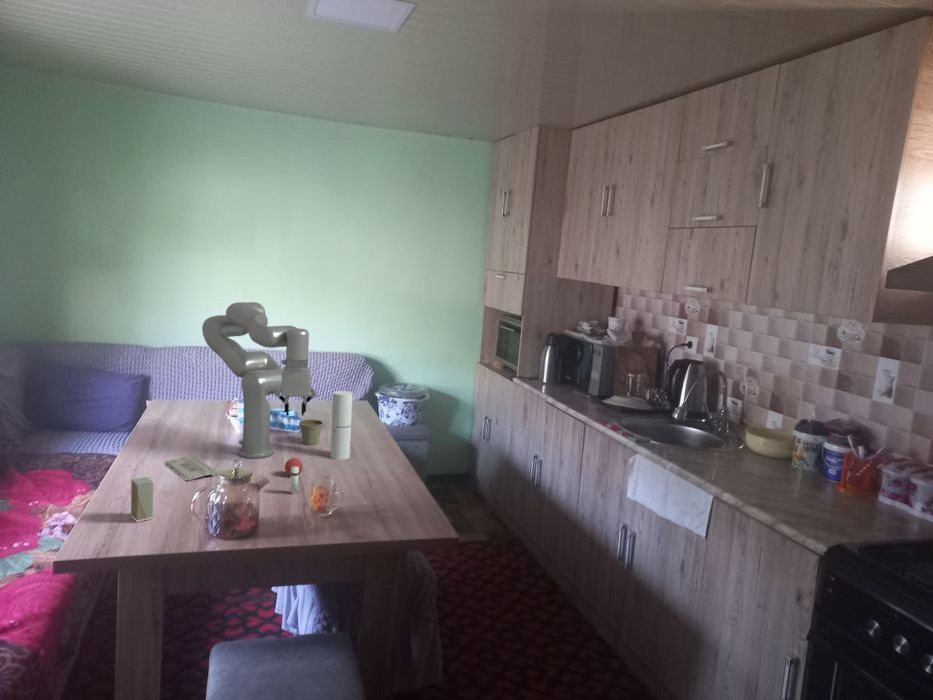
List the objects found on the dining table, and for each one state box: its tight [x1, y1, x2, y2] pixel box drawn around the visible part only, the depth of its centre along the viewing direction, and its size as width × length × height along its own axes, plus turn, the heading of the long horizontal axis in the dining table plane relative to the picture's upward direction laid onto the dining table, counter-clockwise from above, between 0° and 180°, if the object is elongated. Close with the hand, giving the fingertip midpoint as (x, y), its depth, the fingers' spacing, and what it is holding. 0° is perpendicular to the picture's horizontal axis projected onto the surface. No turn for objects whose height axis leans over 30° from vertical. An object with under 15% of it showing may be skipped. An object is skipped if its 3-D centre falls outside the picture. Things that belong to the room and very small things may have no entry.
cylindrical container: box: [330, 390, 354, 461], centre depth 248 cm, size 7×7×25 cm
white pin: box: [289, 466, 300, 494], centre depth 209 cm, size 2×2×8 cm
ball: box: [284, 457, 304, 476], centre depth 225 cm, size 6×6×6 cm
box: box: [130, 476, 154, 520], centre depth 182 cm, size 5×4×11 cm
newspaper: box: [163, 455, 218, 482], centre depth 225 cm, size 23×12×2 cm, turn 43°
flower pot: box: [298, 419, 324, 446], centre depth 264 cm, size 9×9×9 cm
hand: (295, 413), depth 232 cm, fingers open, 4 cm apart
